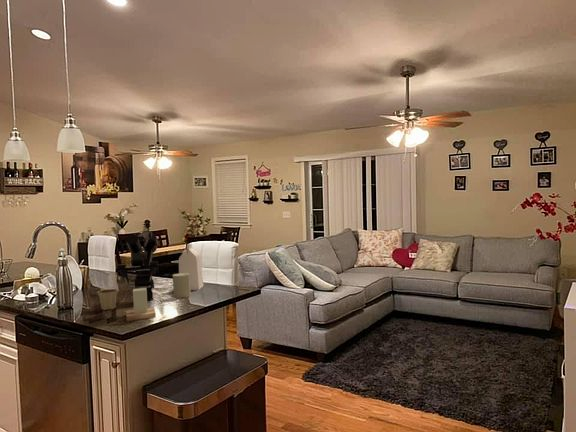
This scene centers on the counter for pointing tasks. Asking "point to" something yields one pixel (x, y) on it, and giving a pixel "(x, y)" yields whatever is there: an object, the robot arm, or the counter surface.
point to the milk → (192, 267)
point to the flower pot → (108, 298)
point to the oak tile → (140, 314)
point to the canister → (140, 300)
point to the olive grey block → (181, 285)
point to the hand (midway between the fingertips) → (138, 283)
